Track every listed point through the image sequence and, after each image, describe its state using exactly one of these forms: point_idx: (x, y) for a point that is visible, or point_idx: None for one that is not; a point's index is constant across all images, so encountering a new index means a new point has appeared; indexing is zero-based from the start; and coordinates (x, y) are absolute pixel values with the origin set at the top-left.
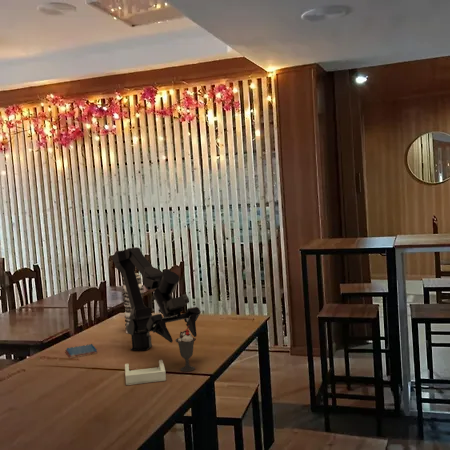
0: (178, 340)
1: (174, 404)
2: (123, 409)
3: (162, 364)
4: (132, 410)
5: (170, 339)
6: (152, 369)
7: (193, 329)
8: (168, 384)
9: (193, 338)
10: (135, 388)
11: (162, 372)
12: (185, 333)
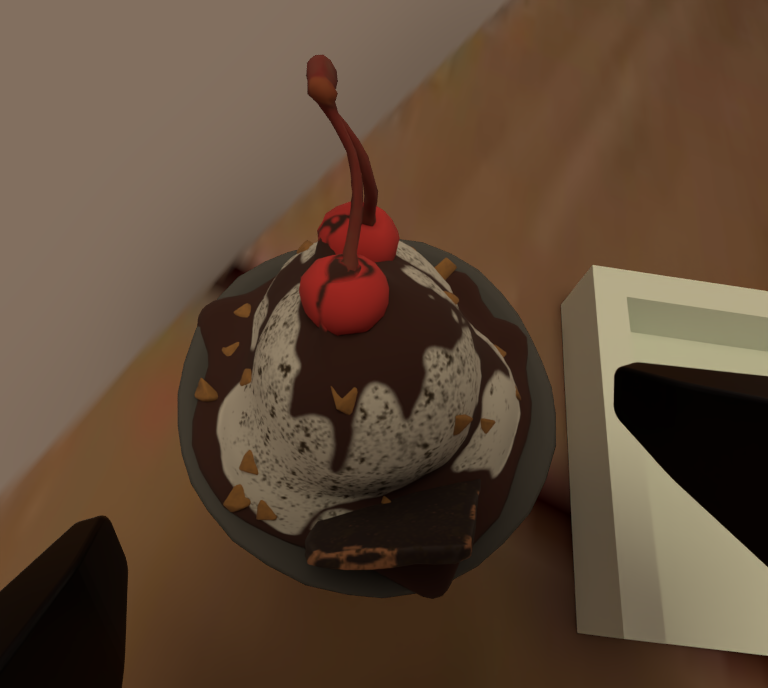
0: (511, 372)
1: (535, 10)
2: (763, 60)
3: (619, 456)
4: (719, 37)
5: (669, 368)
6: (687, 593)
7: (45, 622)
8: (547, 235)
9: (233, 342)
10: (757, 267)
11: (613, 273)
12: (399, 262)
